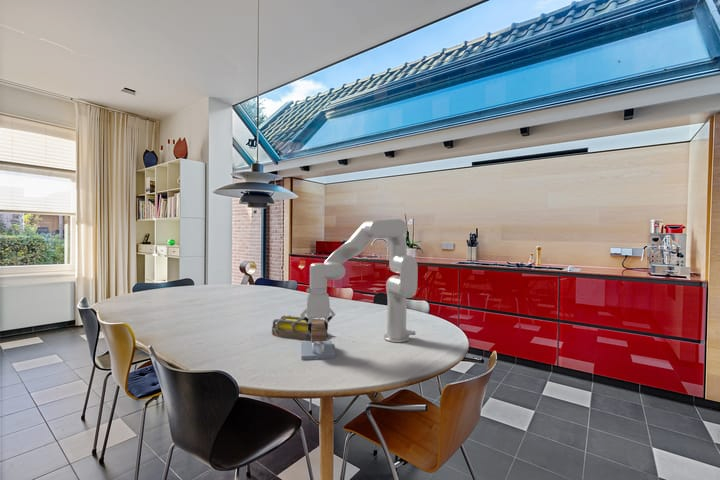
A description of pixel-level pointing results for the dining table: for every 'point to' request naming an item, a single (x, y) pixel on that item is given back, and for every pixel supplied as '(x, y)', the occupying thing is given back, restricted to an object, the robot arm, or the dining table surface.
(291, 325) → the cage light
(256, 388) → the dining table surface
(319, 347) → the peg stand
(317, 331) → the brick
